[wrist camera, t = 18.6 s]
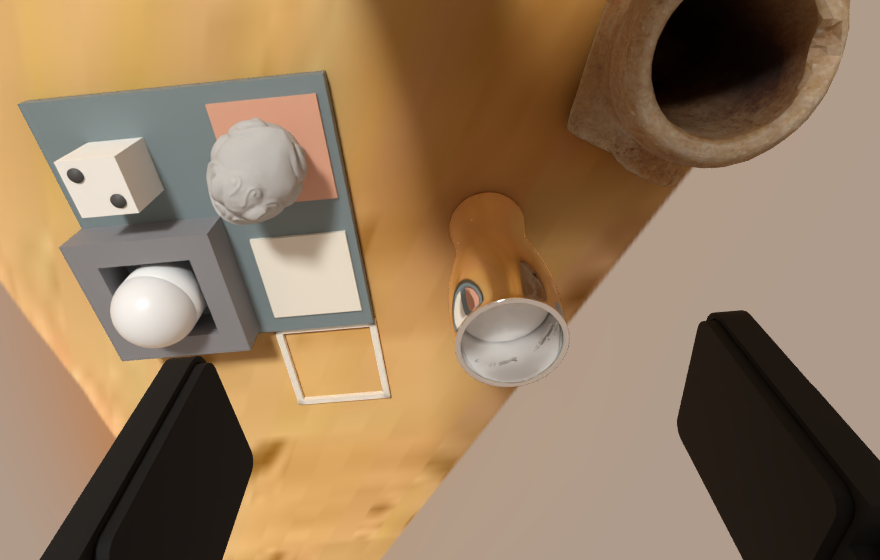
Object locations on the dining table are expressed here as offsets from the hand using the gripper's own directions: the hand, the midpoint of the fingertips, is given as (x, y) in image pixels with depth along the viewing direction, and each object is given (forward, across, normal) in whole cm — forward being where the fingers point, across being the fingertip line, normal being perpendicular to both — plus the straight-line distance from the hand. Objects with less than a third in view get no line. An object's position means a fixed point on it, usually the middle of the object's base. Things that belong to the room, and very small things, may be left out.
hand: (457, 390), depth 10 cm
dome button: (+28, +23, +14) cm, 39 cm away
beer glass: (+31, -3, +12) cm, 33 cm away
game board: (+30, +18, +14) cm, 38 cm away
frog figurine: (+29, +12, +4) cm, 32 cm away
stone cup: (+31, -14, 0) cm, 34 cm away
